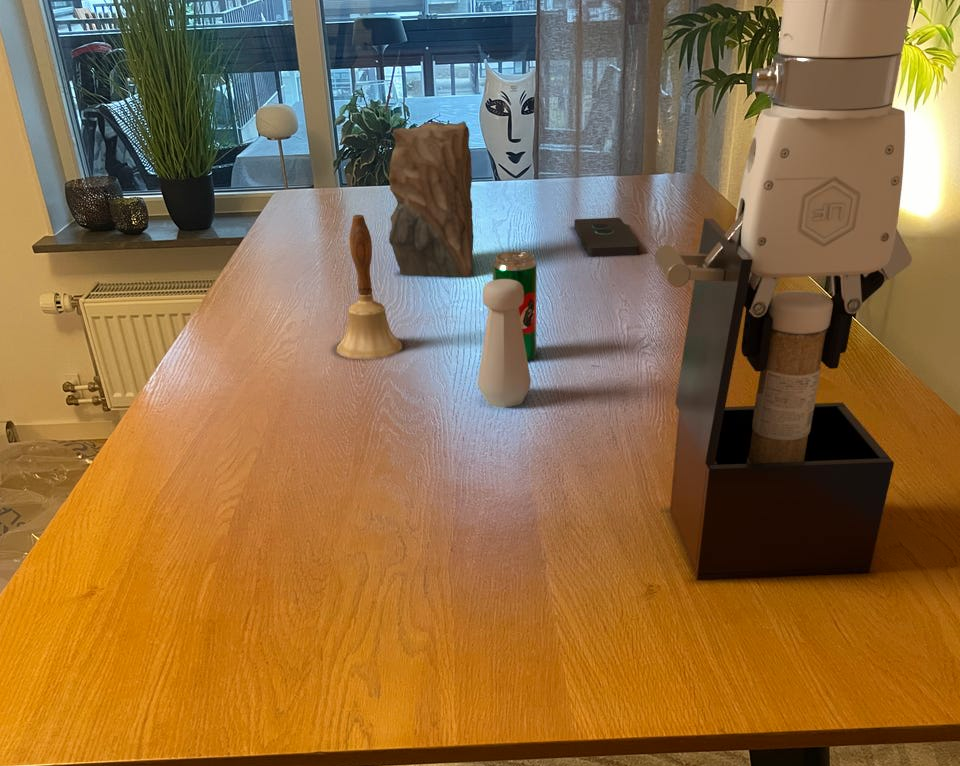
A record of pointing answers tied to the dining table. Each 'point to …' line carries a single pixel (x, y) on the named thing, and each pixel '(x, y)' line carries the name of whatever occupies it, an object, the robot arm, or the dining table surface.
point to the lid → (708, 331)
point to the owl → (432, 200)
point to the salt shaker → (503, 346)
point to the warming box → (781, 501)
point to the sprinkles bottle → (789, 377)
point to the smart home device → (606, 237)
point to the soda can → (525, 272)
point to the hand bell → (366, 306)
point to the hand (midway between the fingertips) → (791, 361)
